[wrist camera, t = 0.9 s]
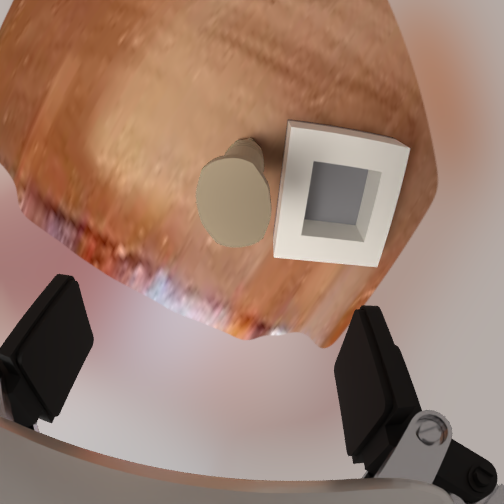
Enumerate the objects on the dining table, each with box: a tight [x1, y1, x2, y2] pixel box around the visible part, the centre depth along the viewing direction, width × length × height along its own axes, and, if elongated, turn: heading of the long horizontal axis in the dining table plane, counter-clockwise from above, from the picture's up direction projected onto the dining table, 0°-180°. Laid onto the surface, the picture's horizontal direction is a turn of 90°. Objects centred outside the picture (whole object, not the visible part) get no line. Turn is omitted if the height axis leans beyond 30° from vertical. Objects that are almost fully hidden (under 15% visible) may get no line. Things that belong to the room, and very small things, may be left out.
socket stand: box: [273, 119, 410, 267], centre depth 33 cm, size 14×12×5 cm
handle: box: [196, 138, 271, 247], centre depth 27 cm, size 5×6×15 cm
